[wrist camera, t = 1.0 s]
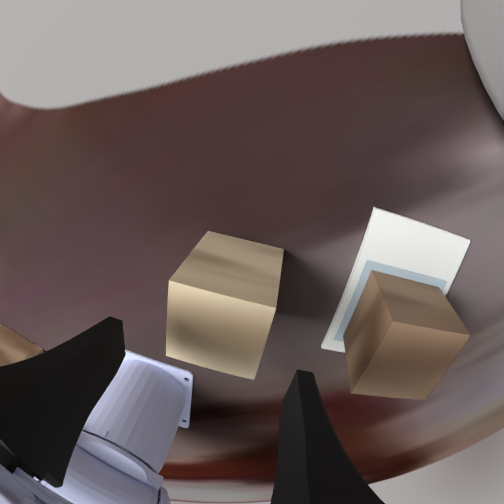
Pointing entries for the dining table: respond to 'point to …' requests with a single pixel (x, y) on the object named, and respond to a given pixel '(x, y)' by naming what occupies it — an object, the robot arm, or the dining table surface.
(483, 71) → the jar
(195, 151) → the dining table surface
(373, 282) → the walnut block
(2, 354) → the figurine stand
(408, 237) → the white flat plate
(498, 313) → the dining table surface
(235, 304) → the maple block
